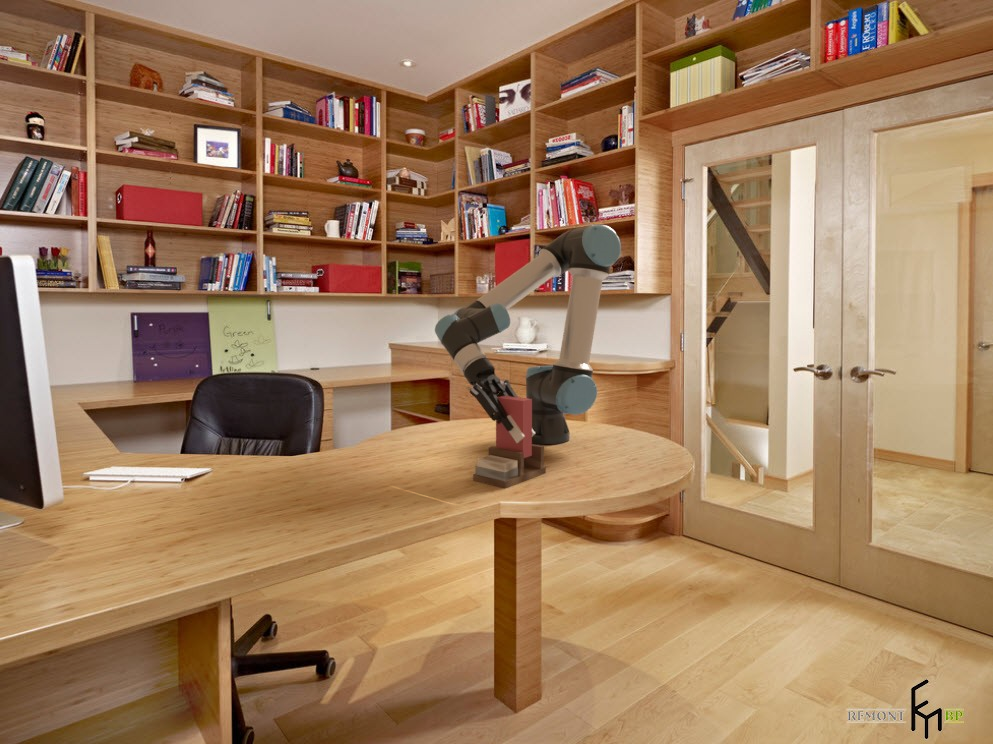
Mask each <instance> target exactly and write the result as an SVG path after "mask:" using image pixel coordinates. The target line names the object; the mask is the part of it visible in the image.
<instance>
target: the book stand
mask: <svg viewBox="0 0 993 744" xmlns="http://www.w3.org/2000/svg"><path fill="white" fill-rule="evenodd" d="M544 451H545V446H544V445H541V444H536V443H532V456H529V457H526V458H524V453H523V452H518V451H513V450H507V449H502V448H497V447H496V446H489V447H488V455H486V456H483V457H479V458H477V465H475V470H474V471H475V473H474V474H472V476H473V477H472V480H473V481H475V482H479V483H483V484H487V485H491V486H495V487H499V488H502V489H503V488H504V489H507V488H510V487H513V486H515V485H517V484H520V483H522V482H525V481H529V480H531V479H534V478H535V477H538V476H541V475H544V474H546V473H547V470H546V469H547V467H546V466H545V452H544Z"/></svg>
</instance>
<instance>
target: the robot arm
mask: <svg viewBox="0 0 993 744" xmlns="http://www.w3.org/2000/svg"><path fill="white" fill-rule="evenodd" d="M621 252H622V244H621V240H620V237H619V236H618V234H617V232H616V231H615V230H614V229H613V228H611V227H610V226H608V225H606V224H590V225H588V226H583V227H578V228H577V227H576V228H572V229H569V230H567V231H565V232H563V233H562V234H561V235H559V236H557V238H555V239H553V240H552V241H551V242H549V244H546V246H544V247H543V248H542V249H540V250H539V252H538V256H536V257H535V258H533V259H532V260H531V261H529V262H528V263H525V265H524V266H522V267H521V268H519V269H518V270H517V271H515V272H514V273H512V274H511V275H509V276H508V277H507V278H505V279H504V280H502V281H501V282H500V283H498V284H496V286H494V287H492V289H490V290H489V291H487V292H486V293H484V294H483V295H481V296H480V297H479V298H477V299H476V300H474V301H473V302H472V303H470V304H469V305H468V306H466V307H461V308H458V309H457V310H456V311H454V313H453V314H447V315H445V316H443V317H441V318H440V319H439V320H438V321H437V323H436V324H435V327H434V332H435V333H434V334H435V335H436V336H437V338H438V340H439V342H440V344H441V345H442V346H443V347H444V349H445V350H446V351H447V353H448V354H449V356H450V357H451V358H452V359H453V361H454V363H455V364H456V365H457V367H458V368H459V371H461V373H462V374H463V376H464V377H465V379H466V380H467V382H468V383H469V385H471V386H472V387H471V389H470V390H469V393H470V395H472V396H473V397H474V398H475V399H476V400H477V402H478V403H479V405H481V407H482V408H483V410H484V411H485V412H486V414H487V415H488V417H490V419H491V420H492V421H494V422H495V423H496V422H497V423H498V424H500V423H502V424H503V425H504V427H505V428H506V430H507V431H509V433H510V434H511V436H512V437H513V439H514V440H515V441H516V443H519V442H520V441H521V440H522V439H523V438H524V437H525V435H524V434H523V433H522V431H521V430H520V428H519V427H518V426H517V424H516V423H515V421H514V420H513V418H512V417H511V416H510V415H508V416H507V414H506V412H505V410H504V408H503V406H502V404H501V403H500V401H499V399H498V397H501V396H511V397H518V395H517V394H516V392H515V390H514V388H513V387H512V386H511V383H510V380H508V379H505V380H501V379H500V378H499V377H498V376H497V375H496V374H495V370H496V368H495V366H494V365H493V363H492V362H491V361H490V360H489V358H488V357H487V355H486V354H485V352H484V351H483V349H482V348H481V347H480V345H479V343H480V342H483V341H485V340H486V339H489V338H491V337H493V336H495V335H497V334H501V333H502V332H504V331H505V330H507V329H509V327H510V325H511V318H510V313H509V312H508V310H509V309H510V308H511V307H514V306H515V305H516V304H517V303H519V302H520V301H521V300H523V299H524V298H526V296H528V295H529V294H531V293H533V292H534V291H535V290H537V289H538V288H539V287H541V286H542V285H543V284H545V283H546V282H547V281H549V280H550V279H552V278H553V277H555V278H558V277H560V276H561V275H563V274H564V273H566V272H569V273H570V275H571V276H572V279H571V286H570V291H569V297H568V303H567V311H566V317H565V322H564V329H563V334H562V341H561V347H560V353H559V354H560V355H559V358H558V360H556V361H554V362H553V364H552V365H540V366H539V365H538V366H530V367H528V368H527V370H526V374H525V375H526V376H525V381H526V382H525V389H526V392H525V394H526V395H525V396H526V397H525V398H527V399H532V444H535V445H553V444H556V445H557V444H562V443H566V442H568V441H570V439H571V437H570V434H571V433H570V430H569V427H568V423H567V420H566V417H565V414H566V415H573V416H574V415H575V416H576V415H583V414H584V413H586V412H587V411H589V410H590V409H591V408H592V407H593V406H594V403H595V402H596V401H597V397H598V387H597V384H596V382H595V381H594V379H593V373H594V369H593V367H592V365H590V358H591V352H592V346H593V342H594V341H593V340H594V335H595V329H596V323H597V317H598V316H597V315H598V310H599V305H600V298H601V293H602V292H601V291H602V287H603V286H602V285H603V281H604V280H606V279H607V278H608V277H609V276H610V270H611V266H612V265H614V264H615V263H616V262H617V261H618V260H619V258H620V255H621ZM496 420H497V421H496Z"/></svg>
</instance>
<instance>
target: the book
mask: <svg viewBox="0 0 993 744" xmlns="http://www.w3.org/2000/svg"><path fill="white" fill-rule="evenodd" d="M498 399H499V401H500V403H501V404H502V406H503V408H504V410H505V412H506V414H507V416H508V415H510V416H511V417H512V418H513V420H514V421H515V423H516V424H517V426H518V427H519V428H520V430H521V431H522V433H523V434H524V435H525V437H524V438H523V439H522V440H521V441H520V442H519V443H516V441H515V440H514V439H513V437H512V436H511V434H510V433H509V431H507V430H506V428H505V427H504V425H503V424H502V423H500V424H498V423H497V422H496V421H497V420H495V447H497V448H502V449H507V450H513V451H518V452H523V453H524V458H526V457H529V456H532V444H533V443H532V399H527V398H526V397H511V396H501V397H498Z"/></svg>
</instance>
